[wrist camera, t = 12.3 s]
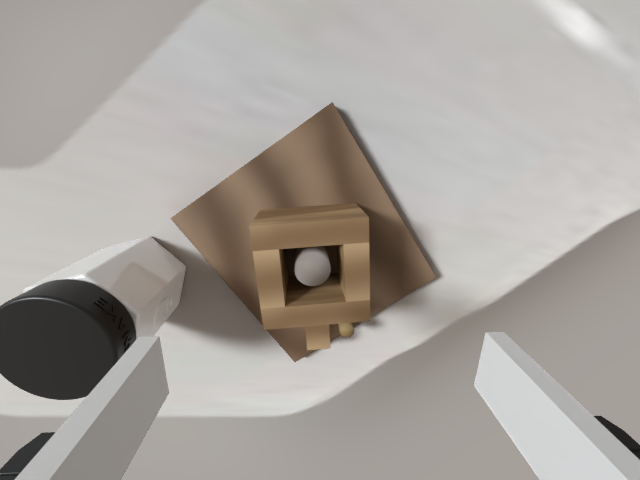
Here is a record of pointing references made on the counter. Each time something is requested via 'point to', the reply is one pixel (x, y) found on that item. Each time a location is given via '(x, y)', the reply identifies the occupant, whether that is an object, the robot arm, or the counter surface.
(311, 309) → the wooden square frame
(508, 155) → the counter surface
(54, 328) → the jar
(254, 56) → the counter surface
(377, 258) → the jig
